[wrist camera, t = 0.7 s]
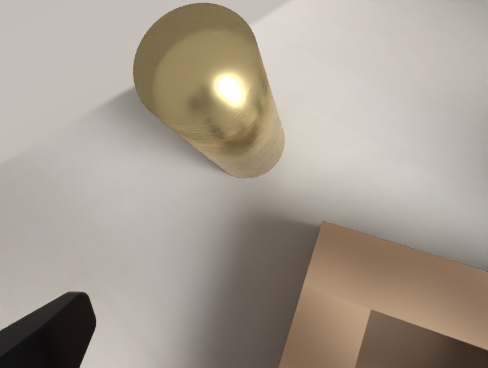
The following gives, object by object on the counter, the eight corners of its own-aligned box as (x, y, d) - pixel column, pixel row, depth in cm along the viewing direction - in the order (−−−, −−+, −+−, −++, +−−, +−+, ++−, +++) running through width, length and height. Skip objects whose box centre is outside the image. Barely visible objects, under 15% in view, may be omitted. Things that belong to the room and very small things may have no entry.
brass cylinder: (271, 187, 22) (234, 140, 12) (201, 166, 23) (115, 108, 13) (294, 115, 22) (275, 15, 13) (224, 98, 23) (157, -7, 14)
